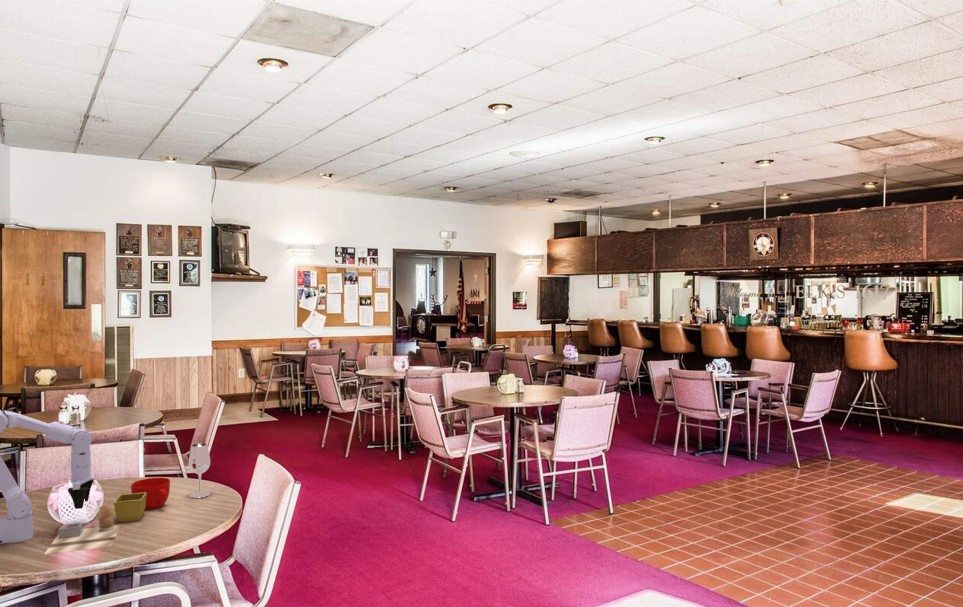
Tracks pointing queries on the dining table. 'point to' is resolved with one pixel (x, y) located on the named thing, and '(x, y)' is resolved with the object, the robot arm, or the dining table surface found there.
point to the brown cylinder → (106, 518)
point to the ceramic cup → (153, 491)
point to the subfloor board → (84, 540)
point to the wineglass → (199, 464)
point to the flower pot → (130, 506)
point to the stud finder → (70, 530)
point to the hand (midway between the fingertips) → (81, 504)
